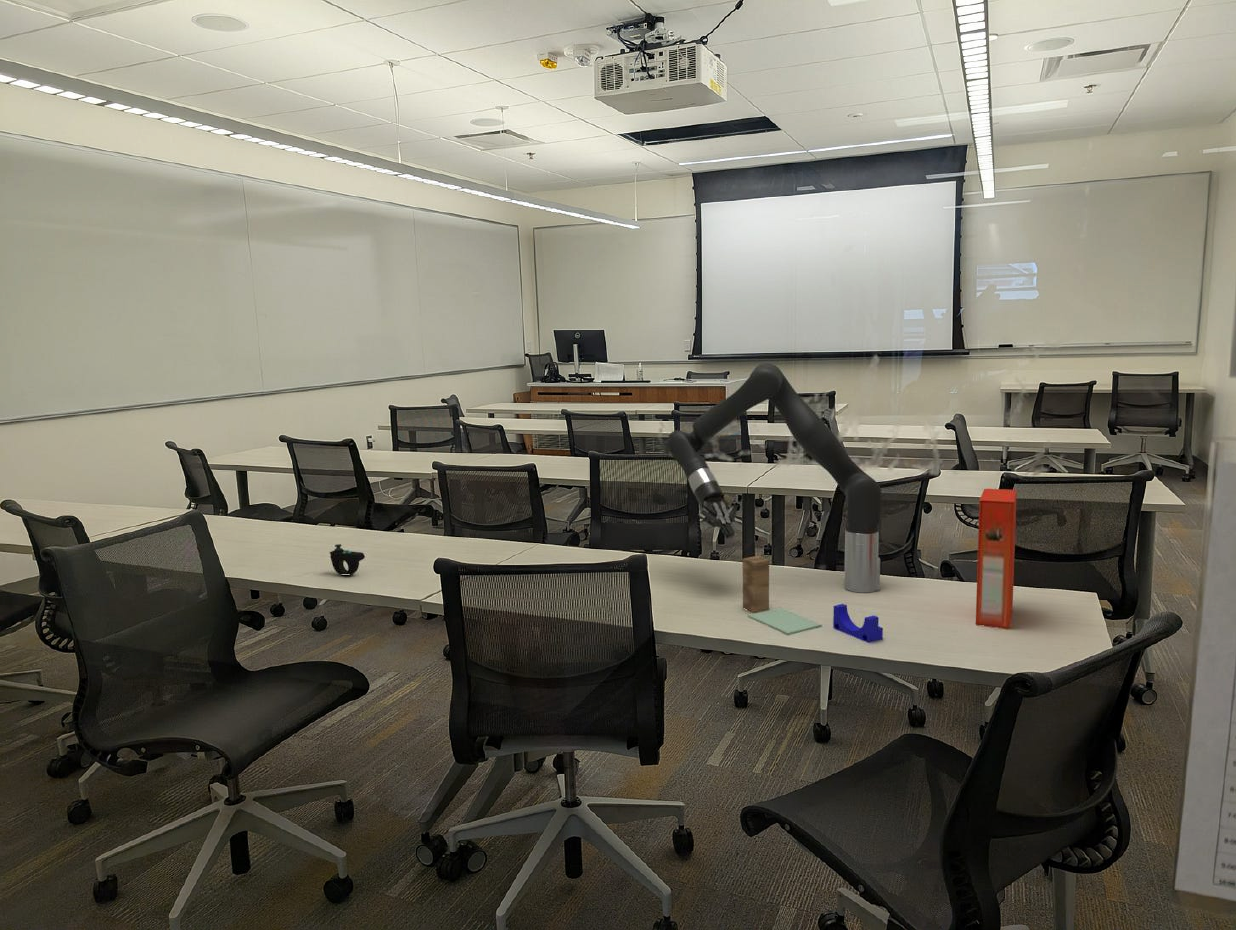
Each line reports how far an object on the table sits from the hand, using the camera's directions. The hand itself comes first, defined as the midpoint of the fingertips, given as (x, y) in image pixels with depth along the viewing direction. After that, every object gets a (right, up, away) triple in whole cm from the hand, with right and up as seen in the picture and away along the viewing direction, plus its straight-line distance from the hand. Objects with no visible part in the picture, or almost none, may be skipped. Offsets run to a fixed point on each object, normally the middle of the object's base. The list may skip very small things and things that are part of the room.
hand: (730, 536), depth 225 cm
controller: (-119, -16, +37) cm, 126 cm away
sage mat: (+11, -20, -17) cm, 29 cm away
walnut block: (+6, -19, -7) cm, 21 cm away
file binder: (+66, -19, -17) cm, 70 cm away
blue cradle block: (+27, -22, -27) cm, 44 cm away
